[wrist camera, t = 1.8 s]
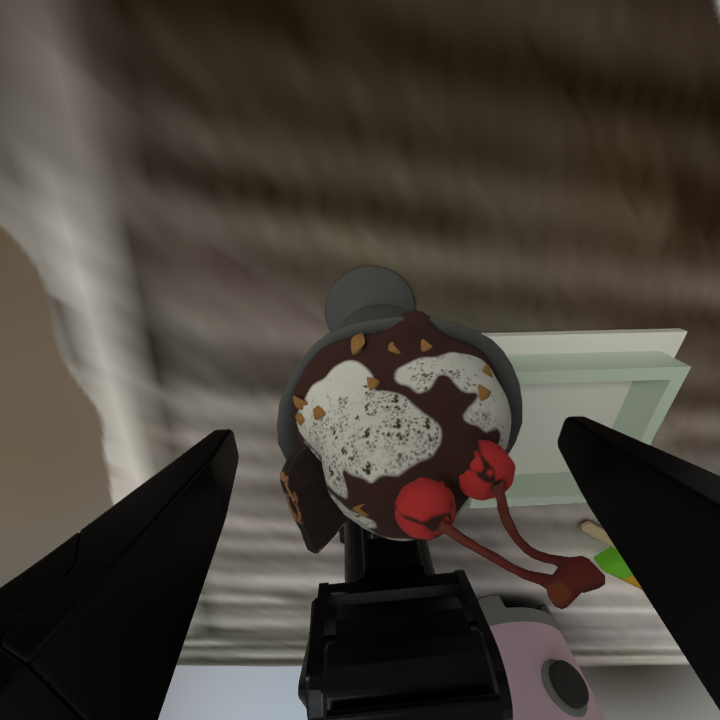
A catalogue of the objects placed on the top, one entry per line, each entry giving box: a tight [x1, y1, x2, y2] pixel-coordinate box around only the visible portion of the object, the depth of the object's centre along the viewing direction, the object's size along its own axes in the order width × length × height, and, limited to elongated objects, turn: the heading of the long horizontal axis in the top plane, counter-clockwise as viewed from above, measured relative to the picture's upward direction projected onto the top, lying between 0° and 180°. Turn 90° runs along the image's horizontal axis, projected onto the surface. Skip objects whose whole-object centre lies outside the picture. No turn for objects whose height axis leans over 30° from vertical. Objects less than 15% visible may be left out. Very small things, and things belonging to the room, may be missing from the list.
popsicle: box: [580, 521, 642, 589], centre depth 29 cm, size 6×15×2 cm, turn 55°
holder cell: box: [467, 328, 691, 509], centre depth 21 cm, size 13×13×2 cm
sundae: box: [277, 266, 605, 609], centre depth 11 cm, size 7×7×15 cm
